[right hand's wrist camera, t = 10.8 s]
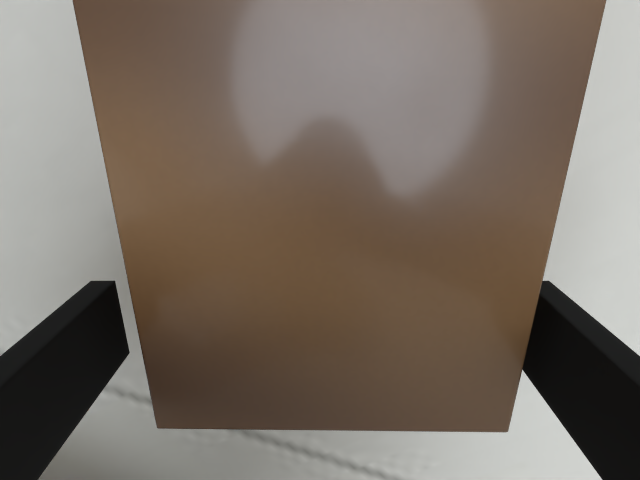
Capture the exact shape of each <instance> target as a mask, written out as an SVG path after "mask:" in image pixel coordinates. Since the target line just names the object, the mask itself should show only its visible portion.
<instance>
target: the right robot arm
mask: <svg viewBox="0 0 640 480" xmlns="http://www.w3.org/2000/svg"><path fill="white" fill-rule="evenodd" d="M128 354H129V348H128V343H127V338H126V333H125V328H124V323H123V318H122V313H121V308H120V304H119V299H118V294H117V289H116V284H115V281H90V282H89V283H88V284H87V285H85V286H84V287H83V288H82V289H81V290H79V291H78V292H77V293H76V294H75V295H73V296H72V297H71V298H70V299H69V300H67V301H66V302H65V303H64V304H63V305H61V306H60V307H59V308H58V309H57V310H55V311H54V312H53V313H52V314H51V315H49V316H48V317H47V318H46V319H45V320H43V321H42V322H41V323H40V324H39V325H37V326H36V327H35V328H34V329H33V330H31V331H30V332H29V333H28V334H27V335H25V336H24V337H23V338H22V339H21V340H19V341H18V342H17V343H16V344H14V345H13V346H12V347H11V348H10V349H8V350H7V351H6V352H5V353H4V354H2V355H1V356H0V480H38V478H39V477H40V476H41V474H42V473H43V471H44V470H45V469H46V467H47V466H48V464H49V463H50V462H51V460H52V459H53V458H54V456H55V455H56V453H57V452H58V451H59V449H60V448H61V447H62V445H63V444H64V442H65V441H66V440H67V438H68V437H69V436H70V434H71V433H72V431H73V430H74V429H75V427H76V426H77V425H78V423H79V422H80V420H81V419H82V418H83V416H84V415H85V414H86V412H87V411H88V409H89V408H90V407H91V405H92V404H93V403H94V401H95V400H96V398H97V397H98V396H99V394H100V393H101V392H102V390H103V389H104V387H105V386H106V385H107V383H108V382H109V380H110V379H111V378H112V376H113V375H114V374H115V372H116V371H117V369H118V368H119V367H120V365H121V364H122V363H123V361H124V360H125V358H126V357H127V356H128ZM522 369H523V371H524V372H525V374H526V375H527V376H528V378H529V379H530V380H531V382H532V383H533V385H534V386H535V387H536V389H537V390H538V392H539V393H540V394H541V396H542V397H543V398H544V400H545V401H546V403H547V404H548V405H549V407H550V408H551V409H552V411H553V412H554V414H555V415H556V416H557V418H558V419H559V420H560V422H561V423H562V425H563V426H564V427H565V429H566V430H567V431H568V433H569V434H570V436H571V437H572V438H573V440H574V441H575V442H576V444H577V445H578V447H579V448H580V449H581V451H582V452H583V453H584V455H585V456H586V458H587V459H588V460H589V462H590V463H591V464H592V466H593V467H594V469H595V470H596V471H597V473H598V474H599V476H600V477H601V478H602V480H640V356H639V355H638V354H636V353H635V352H634V351H633V350H632V349H630V348H629V347H628V346H627V345H626V344H624V343H623V342H622V341H621V340H619V339H618V338H617V337H616V336H615V335H613V334H612V333H611V332H610V331H609V330H607V329H606V328H605V327H604V326H603V325H601V324H600V323H599V322H598V321H597V320H595V319H594V318H593V317H592V316H591V315H589V314H588V313H587V312H586V311H585V310H583V309H582V308H581V307H580V306H579V305H577V304H576V303H575V302H574V301H573V300H571V299H570V298H569V297H568V296H567V295H565V294H564V293H563V292H562V291H561V290H559V289H558V288H557V287H556V286H555V285H553V284H552V283H551V282H550V281H542V285H541V289H540V293H539V298H538V302H537V306H536V311H535V315H534V320H533V324H532V328H531V333H530V337H529V342H528V346H527V350H526V355H525V359H524V364H523V368H522Z"/></svg>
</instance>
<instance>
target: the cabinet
mask: <svg viewBox="0 0 640 480" xmlns="http://www.w3.org/2000/svg"><path fill="white" fill-rule="evenodd" d="M605 4H606V0H73V5H74V10H75V15H76V20H77V25H78V30H79V35H80V40H81V45H82V50H83V55H84V60H85V65H86V70H87V76H88V81H89V86H90V91H91V96H92V101H93V106H94V111H95V116H96V121H97V126H98V131H99V136H100V141H101V146H102V152H103V157H104V162H105V167H106V172H107V177H108V182H109V187H110V192H111V197H112V202H113V207H114V212H115V217H116V222H117V228H118V233H119V238H120V243H121V248H122V253H123V258H124V263H125V268H126V273H127V278H128V283H129V288H130V293H131V298H132V304H133V309H134V314H135V319H136V324H137V329H138V334H139V339H140V344H141V349H142V354H143V359H144V364H145V369H146V374H147V379H148V385H149V390H150V395H151V400H152V405H153V410H154V415H155V420H156V425H157V428H169V429H258V430H348V431H437V432H508V429H509V425H510V421H511V416H512V412H513V407H514V403H515V399H516V394H517V390H518V385H519V381H520V377H521V372H522V368H523V364H524V359H525V355H526V350H527V346H528V342H529V337H530V333H531V328H532V324H533V320H534V315H535V311H536V306H537V302H538V298H539V293H540V289H541V285H542V280H543V276H544V271H545V267H546V263H547V258H548V254H549V249H550V245H551V241H552V236H553V232H554V227H555V223H556V219H557V214H558V210H559V205H560V201H561V197H562V192H563V188H564V184H565V179H566V175H567V170H568V166H569V162H570V157H571V153H572V148H573V144H574V140H575V135H576V131H577V126H578V122H579V118H580V113H581V109H582V105H583V100H584V96H585V91H586V87H587V83H588V78H589V74H590V69H591V65H592V61H593V56H594V52H595V47H596V43H597V39H598V34H599V30H600V26H601V21H602V17H603V12H604V8H605Z"/></svg>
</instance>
